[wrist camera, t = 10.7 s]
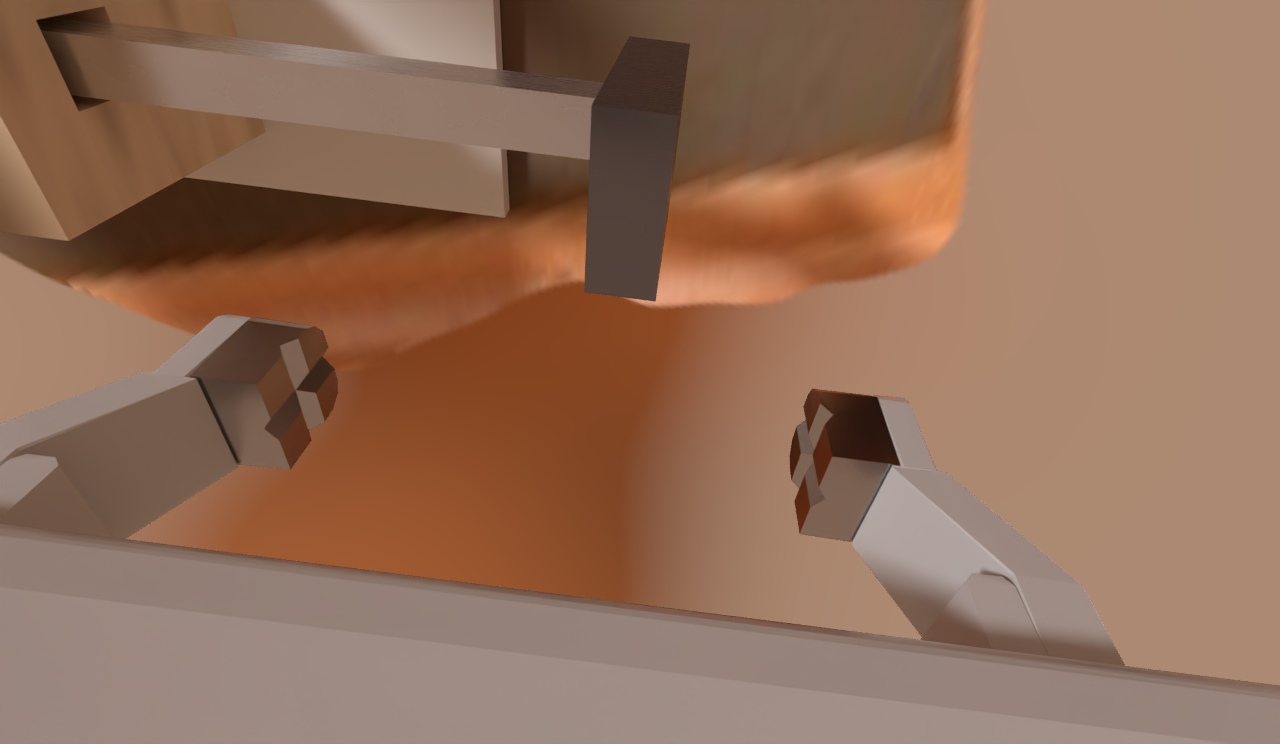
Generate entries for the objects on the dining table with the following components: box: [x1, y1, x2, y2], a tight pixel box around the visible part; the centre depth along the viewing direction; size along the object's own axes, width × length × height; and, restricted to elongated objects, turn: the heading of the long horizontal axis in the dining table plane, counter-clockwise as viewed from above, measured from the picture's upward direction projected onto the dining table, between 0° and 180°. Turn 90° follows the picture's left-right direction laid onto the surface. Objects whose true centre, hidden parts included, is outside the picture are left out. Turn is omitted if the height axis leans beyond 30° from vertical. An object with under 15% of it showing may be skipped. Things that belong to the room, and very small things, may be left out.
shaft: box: [36, 16, 690, 301], centre depth 19 cm, size 24×5×8 cm, turn 84°
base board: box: [185, 0, 510, 218], centre depth 28 cm, size 30×16×1 cm, turn 84°
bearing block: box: [0, 0, 265, 241], centre depth 23 cm, size 6×10×12 cm, turn 174°
